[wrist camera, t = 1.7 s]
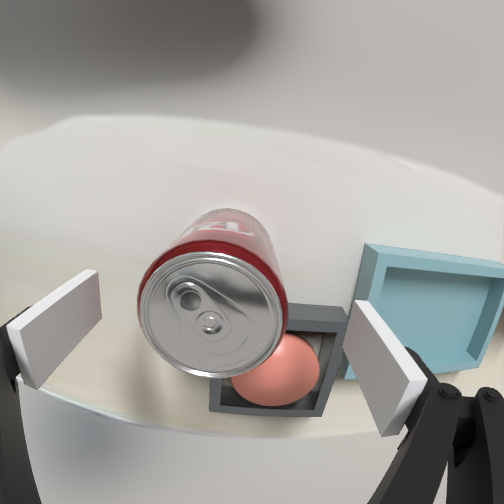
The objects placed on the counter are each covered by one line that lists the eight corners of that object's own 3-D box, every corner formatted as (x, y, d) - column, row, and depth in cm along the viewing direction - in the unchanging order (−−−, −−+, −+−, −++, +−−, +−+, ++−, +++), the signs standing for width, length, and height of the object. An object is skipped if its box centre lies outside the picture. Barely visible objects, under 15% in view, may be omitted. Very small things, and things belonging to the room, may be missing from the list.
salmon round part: (229, 386, 27) (227, 403, 25) (235, 320, 25) (234, 334, 23) (305, 391, 28) (309, 407, 25) (322, 327, 26) (328, 341, 23)
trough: (336, 361, 28) (343, 379, 25) (365, 243, 25) (378, 252, 22) (466, 354, 28) (478, 367, 25) (497, 261, 25) (514, 270, 22)
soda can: (288, 265, 25) (318, 343, 14) (215, 307, 26) (194, 401, 15) (241, 189, 23) (232, 209, 12) (167, 238, 24) (103, 295, 13)
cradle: (212, 391, 29) (209, 411, 26) (218, 296, 26) (214, 312, 23) (316, 397, 29) (321, 416, 26) (341, 306, 26) (351, 322, 23)
